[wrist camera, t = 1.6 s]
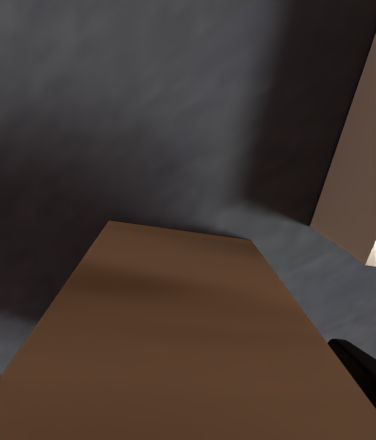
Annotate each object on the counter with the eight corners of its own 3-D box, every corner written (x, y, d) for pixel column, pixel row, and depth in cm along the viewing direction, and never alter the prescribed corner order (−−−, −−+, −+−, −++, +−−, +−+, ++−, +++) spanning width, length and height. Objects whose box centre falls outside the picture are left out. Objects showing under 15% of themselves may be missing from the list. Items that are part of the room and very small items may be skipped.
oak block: (221, 348, 10) (291, 649, 4) (99, 337, 9) (-13, 664, 4) (250, 239, 8) (418, 466, 3) (109, 220, 8) (-51, 450, 2)
